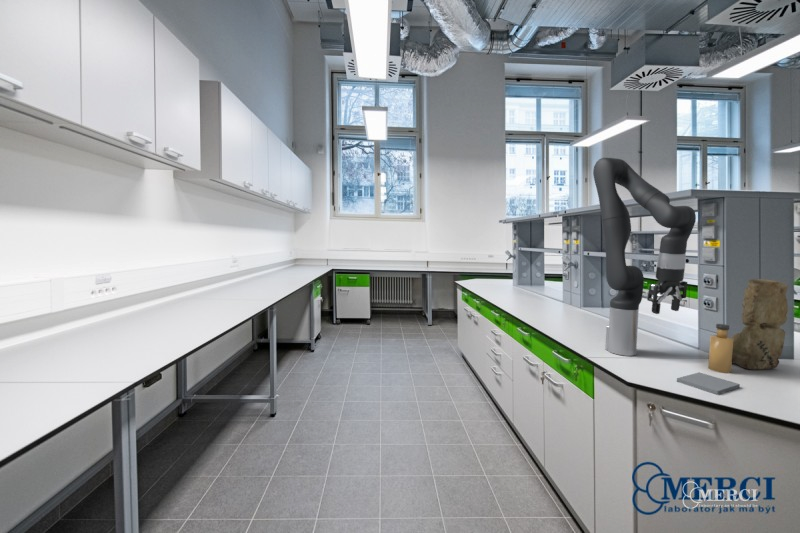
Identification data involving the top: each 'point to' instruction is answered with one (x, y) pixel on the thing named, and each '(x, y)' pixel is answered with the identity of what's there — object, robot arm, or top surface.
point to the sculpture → (761, 325)
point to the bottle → (721, 350)
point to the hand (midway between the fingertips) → (665, 311)
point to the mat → (708, 383)
